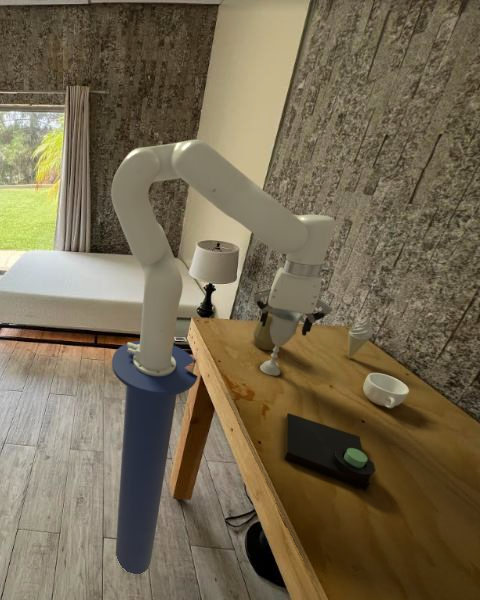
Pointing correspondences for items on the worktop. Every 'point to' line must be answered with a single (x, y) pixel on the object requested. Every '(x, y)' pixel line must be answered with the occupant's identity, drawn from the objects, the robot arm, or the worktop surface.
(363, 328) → the ice cream cone
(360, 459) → the tare button
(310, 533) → the worktop surface
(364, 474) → the scale
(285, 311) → the chalice
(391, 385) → the teacup
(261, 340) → the squeeze bottle
